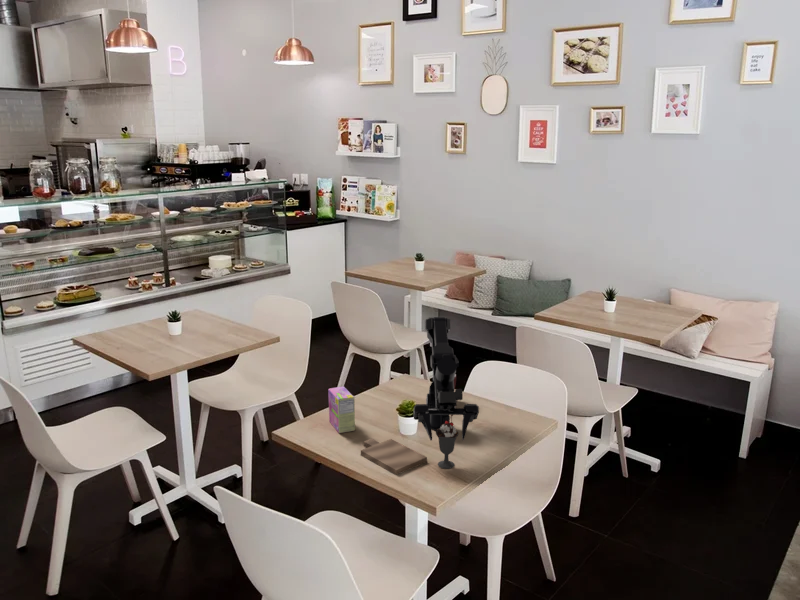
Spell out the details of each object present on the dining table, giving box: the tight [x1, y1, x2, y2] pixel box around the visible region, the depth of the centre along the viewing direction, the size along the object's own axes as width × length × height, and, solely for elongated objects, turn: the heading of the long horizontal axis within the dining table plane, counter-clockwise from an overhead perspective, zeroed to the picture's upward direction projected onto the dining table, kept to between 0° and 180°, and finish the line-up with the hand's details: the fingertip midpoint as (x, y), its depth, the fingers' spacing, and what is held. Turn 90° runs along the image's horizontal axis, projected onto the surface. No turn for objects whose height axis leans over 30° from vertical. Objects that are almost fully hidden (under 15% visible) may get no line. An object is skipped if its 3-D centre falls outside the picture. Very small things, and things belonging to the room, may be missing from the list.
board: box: [360, 438, 428, 476], centre depth 198 cm, size 20×12×2 cm, turn 42°
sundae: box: [435, 415, 459, 470], centre depth 191 cm, size 7×7×15 cm
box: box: [327, 386, 356, 434], centre depth 217 cm, size 10×6×12 cm, turn 23°
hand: (447, 439), depth 190 cm, fingers open, 9 cm apart
